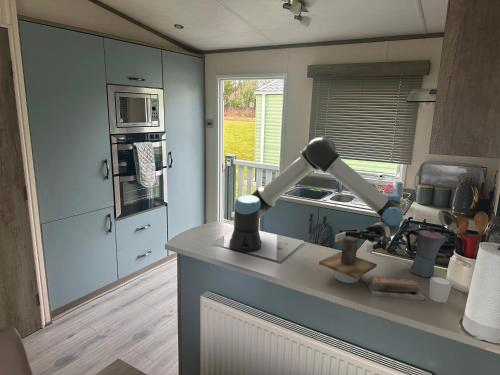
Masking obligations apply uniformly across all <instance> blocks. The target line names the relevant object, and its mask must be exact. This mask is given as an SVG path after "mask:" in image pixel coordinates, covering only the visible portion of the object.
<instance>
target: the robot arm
mask: <svg viewBox="0 0 500 375" xmlns="http://www.w3.org/2000/svg"><path fill="white" fill-rule="evenodd" d="M299 153H300V155H299V157H297V159H295V160H293V162H291V163H290V164H289V165H288V166H287V167H286V168H285V169H283V171H281V172H280V173H279V174H278V175H277V176H276V177H274V178H273V179H272V180H271V181H270V182H269V183H268V184H266V185H265V186H263V187H258V188H257V189H256V190H255V191H254V192H252V193H251V194H248V195H247V194H244V195H240V196H239V197H236V199H235V201H234V206H233V207H234V220H233V221H234V222H233V232H232V234H231V237H230V240H229V247H230V248H231V249H232V250H233V251H237V252H242V253H253V252H258V251H259V250H261V249H262V244H263V243H262V240H261V235H260V219H261V218H262V217H263V216H265V215H266V214H267V213H268V212H269V211H270V210H271V209H272V208H273V207H275V206H276V201H277V200H278V199H280V198H281V197H282V196H283V195H284V194H285V193H286V192H288V191H290V189H291V188H292V187H294V186H295V185H296V184H297V183H299V182H300V181H301V180H302V179H303V178H305V177H306V176H307V175H308V174H309V173H310V172H312V171H318V170H321V171H322V172H323V173H324V174H329V175H330V176H331V177H333V178H334V179H335V180H336V181H337V182H339V183H340V184H341V185H342V186H344V187H345V188H346V189H347V190H349V192H350V193H352V194H353V195H354V196H356V198H358V199H359V200H360V201H362V202H363V203H364V204H365V205H367V206H368V208H370V209H371V210H372V211H373V212H375V213H376V214H377V215H378V216H379V220H378V221H379V222H377V223H374V224H372V225H369V226H367V227H366V228H365V230H360V228H359V227H357V228H348V229H347V228H346V229H345V228H344V229H339V230H338V231H339V232H338V234H335V237H334V238H335V239H334V242H336V243H337V242H340V241H343V238H345V237H347V236H351V237H354V238H357V239H358V240H364V241H365V240H366V241H369V244H367V245H366V250H365V251H366V253H368V254H369V253H371V252H373V251H377V250H381V249H382V250H383V251H386V250H387V242H388V238H391V237H393V236H396V234H398V233H399V232H400V230H401V223H402V221H403V220H404V213H403V210H402V209H401V203H402V202H401V199H402V198H401V195H399V194H397V193H390V192H389V193H382V192H381V191H379V189H378V188H376V187H375V186H374V185H373V184H371V183H370V182H369V181H367V180H366V179H365V177H364V176H361V174H359V172H357V171H355V169H353V168H352V167H350V166H349V164H347V163H346V162H345V161H343V160H342V158H341V155H340V154H339V153H338V152H337V151H336V145H335V143H334V142H333V140H332V139H331V138H329V137H327V136H318V137H315V138H314V139H311V140H310V141H309V142H308V143H307V145H306V146H305V147H304V148H303V149H302V150H300V152H299Z"/></svg>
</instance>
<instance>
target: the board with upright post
mask: <svg viewBox="0 0 500 375" xmlns="http://www.w3.org/2000/svg"><path fill="white" fill-rule="evenodd" d="M358 243H359V239H358V238H354V237H351V236H347V237H345V238H343V240H342V246H341V247H342V248H341V251H338V252H336V253H334V254H332V255H331V256H328V257H326V258H323V259H321V260H319V261H318V265H320V266H323V267H325V268H327V269H331V270H333V271H334V270H335V271H337V272H340V273H342V274H345V275H348V276H350V277H353V278H355V279H357V278H359V277H360V278H361V277H363V276H364V275H366V274H367V273H369V272H370V271H373V269H375V268H377V267H378V266H377V265H378V264H377V263H375V262H373V261H369V260H367V259H363V258H360V257H357V251H358V245H359V244H358ZM360 278H359V279H360Z"/></svg>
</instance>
